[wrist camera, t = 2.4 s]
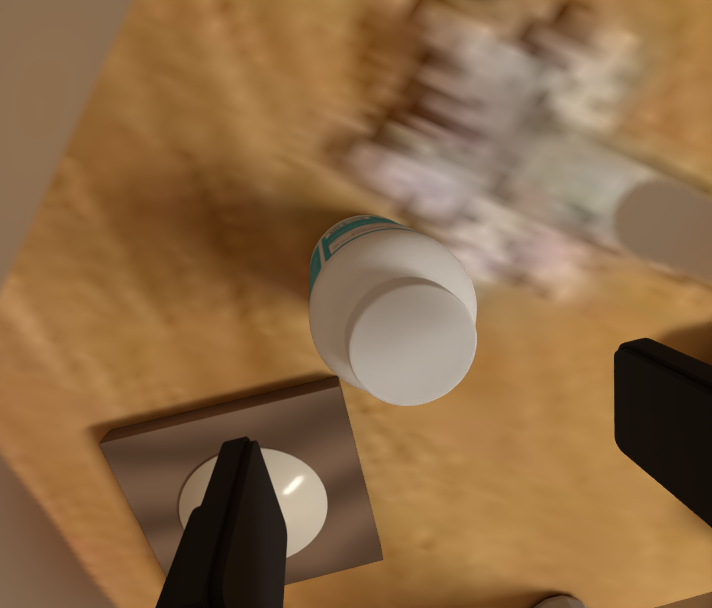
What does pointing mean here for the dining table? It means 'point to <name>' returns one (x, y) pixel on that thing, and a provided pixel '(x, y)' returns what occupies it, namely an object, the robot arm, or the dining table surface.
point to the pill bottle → (391, 310)
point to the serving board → (284, 464)
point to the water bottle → (561, 603)
